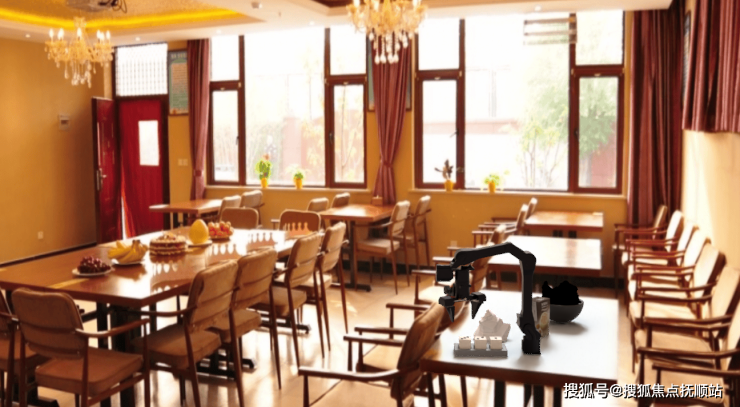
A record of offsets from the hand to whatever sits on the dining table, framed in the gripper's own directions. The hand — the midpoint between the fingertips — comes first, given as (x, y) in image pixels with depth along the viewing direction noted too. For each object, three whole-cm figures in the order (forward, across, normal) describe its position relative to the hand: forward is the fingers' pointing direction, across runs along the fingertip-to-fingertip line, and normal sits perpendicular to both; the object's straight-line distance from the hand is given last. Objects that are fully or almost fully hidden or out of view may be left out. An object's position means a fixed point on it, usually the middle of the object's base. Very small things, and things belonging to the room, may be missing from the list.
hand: (462, 320), depth 262 cm
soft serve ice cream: (+13, -19, -9) cm, 25 cm away
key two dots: (+11, -6, +4) cm, 13 cm away
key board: (+13, -6, +4) cm, 14 cm away
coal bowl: (+14, -62, -18) cm, 66 cm away
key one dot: (+11, -11, +7) cm, 17 cm away
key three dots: (+11, 0, +1) cm, 11 cm away
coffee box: (+13, -40, -5) cm, 42 cm away
